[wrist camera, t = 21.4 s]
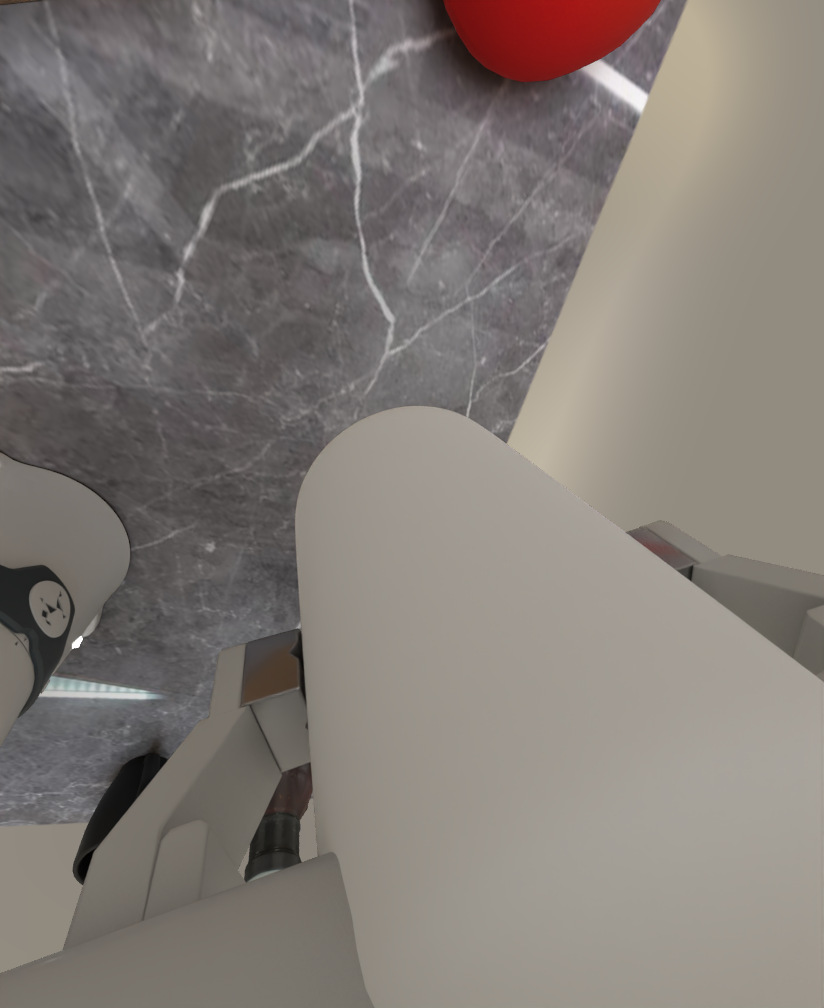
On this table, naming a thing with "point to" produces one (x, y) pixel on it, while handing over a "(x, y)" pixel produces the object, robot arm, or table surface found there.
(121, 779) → the mug
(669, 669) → the can
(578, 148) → the table surface
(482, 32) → the tomato
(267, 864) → the sauce bottle
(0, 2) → the box
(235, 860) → the robot arm
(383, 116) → the table surface
